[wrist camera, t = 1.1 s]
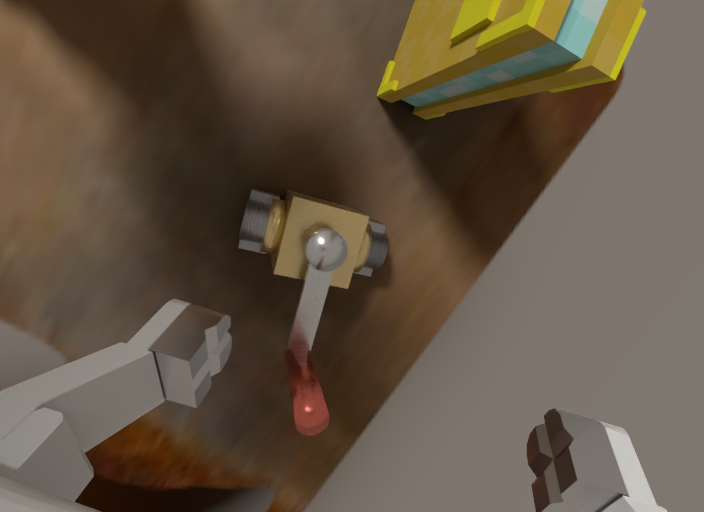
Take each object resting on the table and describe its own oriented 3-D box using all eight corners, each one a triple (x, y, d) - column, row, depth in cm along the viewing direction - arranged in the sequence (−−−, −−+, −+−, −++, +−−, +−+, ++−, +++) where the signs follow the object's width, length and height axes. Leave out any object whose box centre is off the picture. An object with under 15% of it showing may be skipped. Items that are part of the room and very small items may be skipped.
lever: (310, 223, 35) (334, 251, 25) (349, 233, 36) (387, 264, 26) (274, 358, 38) (282, 433, 28) (311, 363, 39) (333, 437, 29)
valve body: (235, 247, 43) (231, 269, 35) (251, 179, 41) (251, 185, 33) (362, 275, 48) (385, 299, 40) (381, 215, 46) (408, 228, 38)
